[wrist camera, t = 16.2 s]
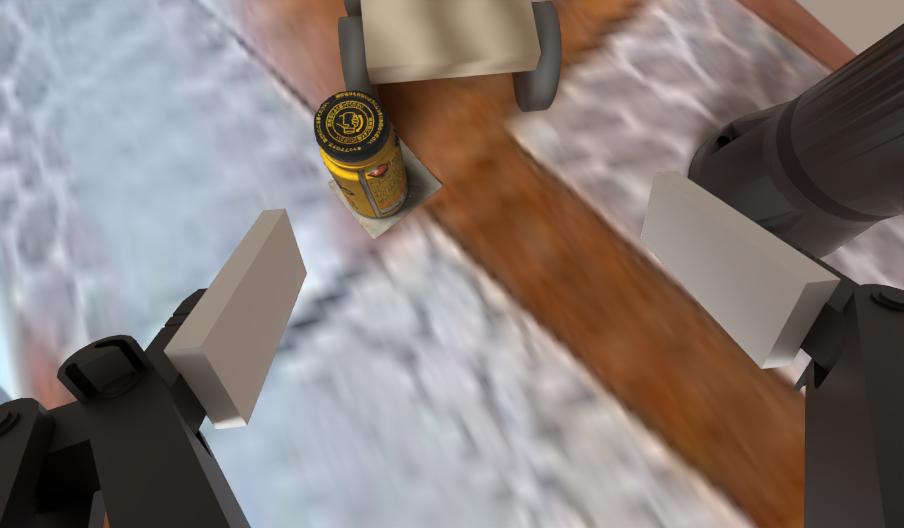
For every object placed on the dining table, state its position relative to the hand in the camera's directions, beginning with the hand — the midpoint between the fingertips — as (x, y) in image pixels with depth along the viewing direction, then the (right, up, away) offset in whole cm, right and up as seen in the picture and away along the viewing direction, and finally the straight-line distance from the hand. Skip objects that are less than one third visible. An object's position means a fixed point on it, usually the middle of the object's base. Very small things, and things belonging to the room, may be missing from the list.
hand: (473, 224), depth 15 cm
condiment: (-7, +6, +25) cm, 26 cm away
